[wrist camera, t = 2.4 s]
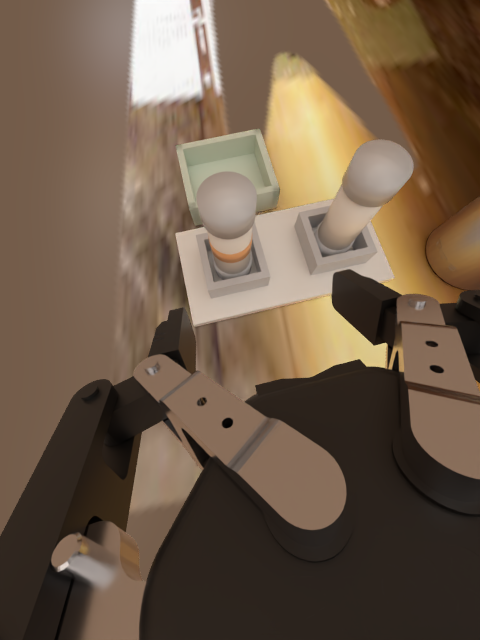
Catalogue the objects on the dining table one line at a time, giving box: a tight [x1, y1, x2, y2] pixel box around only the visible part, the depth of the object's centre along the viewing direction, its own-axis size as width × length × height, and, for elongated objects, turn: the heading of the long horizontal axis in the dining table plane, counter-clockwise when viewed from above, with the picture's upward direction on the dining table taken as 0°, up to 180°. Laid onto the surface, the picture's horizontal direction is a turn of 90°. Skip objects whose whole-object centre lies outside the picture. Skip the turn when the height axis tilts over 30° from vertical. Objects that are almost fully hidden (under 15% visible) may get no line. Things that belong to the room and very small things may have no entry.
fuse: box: [314, 140, 413, 257], centre depth 22 cm, size 4×4×11 cm
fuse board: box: [175, 199, 395, 327], centre depth 27 cm, size 24×12×4 cm, turn 103°
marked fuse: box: [196, 171, 257, 280], centre depth 22 cm, size 4×4×11 cm
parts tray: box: [175, 129, 280, 226], centre depth 29 cm, size 11×10×3 cm
